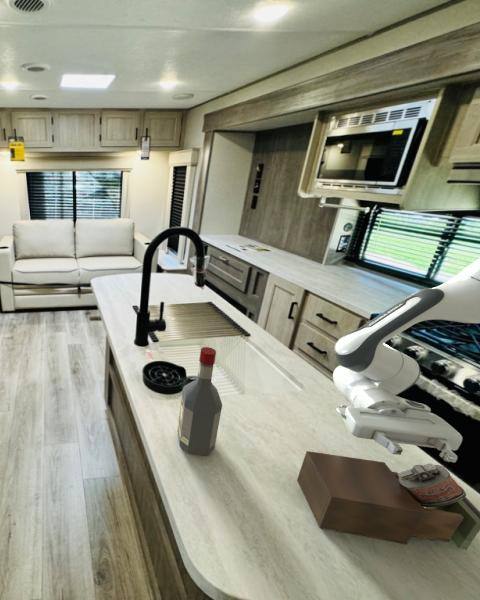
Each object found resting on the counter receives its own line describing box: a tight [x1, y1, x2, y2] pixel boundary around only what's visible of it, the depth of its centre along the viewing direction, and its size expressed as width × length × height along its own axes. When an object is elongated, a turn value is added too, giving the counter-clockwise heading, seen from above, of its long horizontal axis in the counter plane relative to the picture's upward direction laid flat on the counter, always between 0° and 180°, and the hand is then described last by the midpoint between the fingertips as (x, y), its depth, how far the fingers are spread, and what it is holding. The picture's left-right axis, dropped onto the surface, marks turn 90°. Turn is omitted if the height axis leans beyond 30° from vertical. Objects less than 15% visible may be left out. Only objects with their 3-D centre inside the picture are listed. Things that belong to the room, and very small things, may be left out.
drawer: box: [392, 471, 480, 550], centre depth 65 cm, size 18×10×8 cm, turn 77°
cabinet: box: [296, 450, 425, 545], centre depth 68 cm, size 16×12×10 cm
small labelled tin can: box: [398, 462, 467, 508], centre depth 63 cm, size 8×3×10 cm
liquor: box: [177, 346, 223, 457], centre depth 83 cm, size 9×9×30 cm
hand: (424, 455), depth 65 cm, fingers open, 8 cm apart
